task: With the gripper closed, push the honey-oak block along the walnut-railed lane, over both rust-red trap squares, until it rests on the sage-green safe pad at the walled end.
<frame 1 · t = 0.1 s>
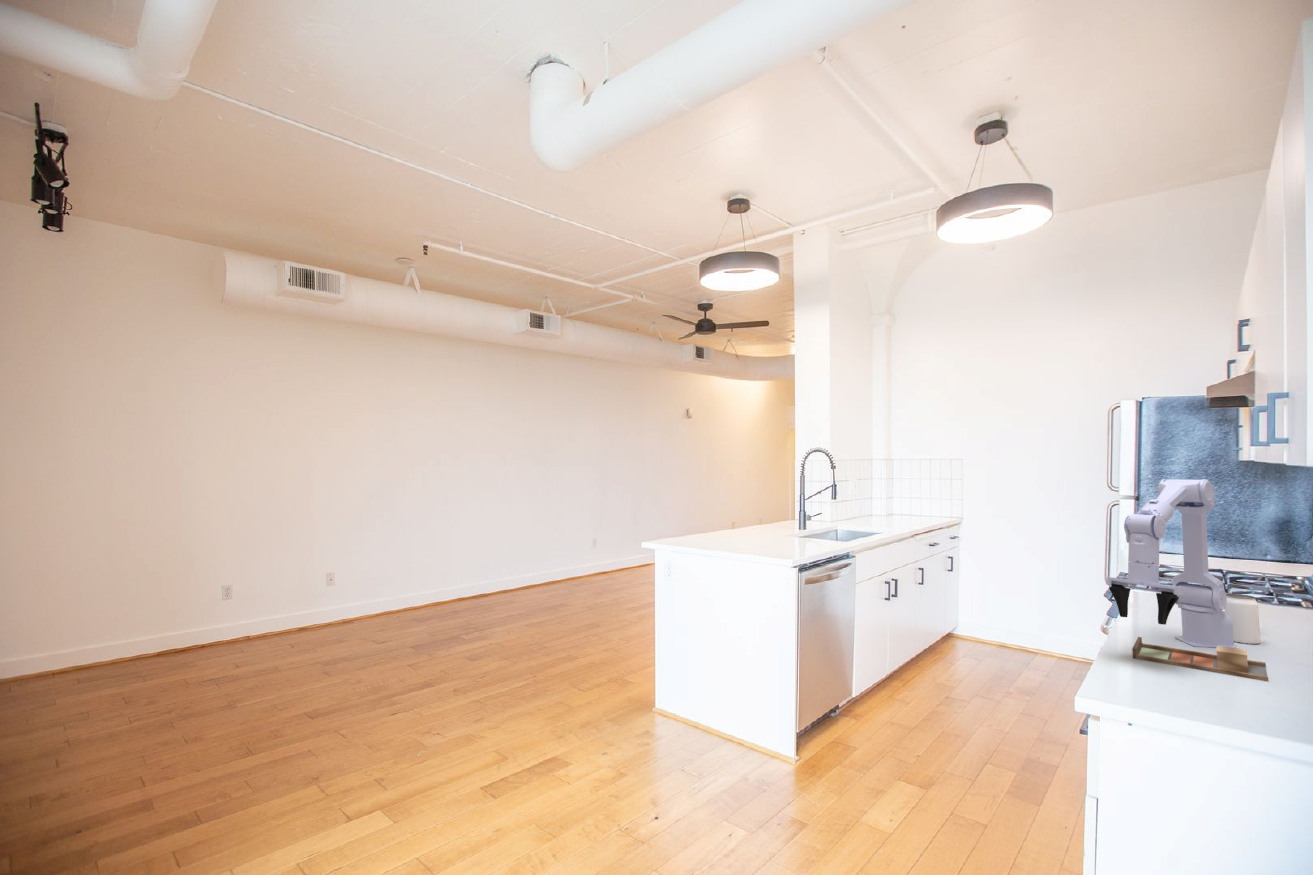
hand: (1142, 620, 138), 11 cm above the counter, tool pointing down, fingers open, 7 cm apart
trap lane: (1197, 662, 139), on the counter
block: (1232, 667, 134), resting on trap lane
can: (1243, 641, 154), on the counter
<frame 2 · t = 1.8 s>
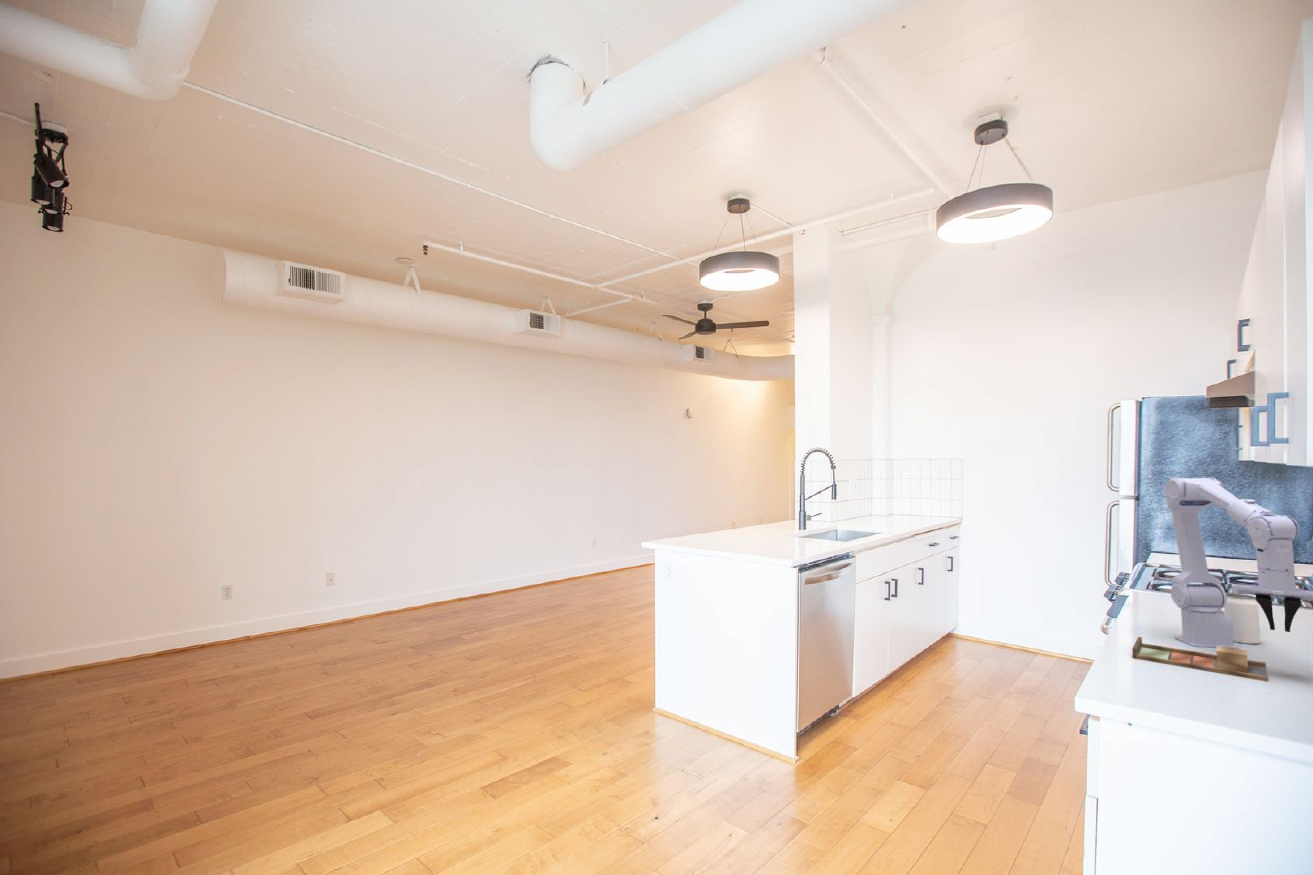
hand: (1279, 629, 129), 10 cm above the counter, tool pointing down, fingers closed
nothing on the counter moved.
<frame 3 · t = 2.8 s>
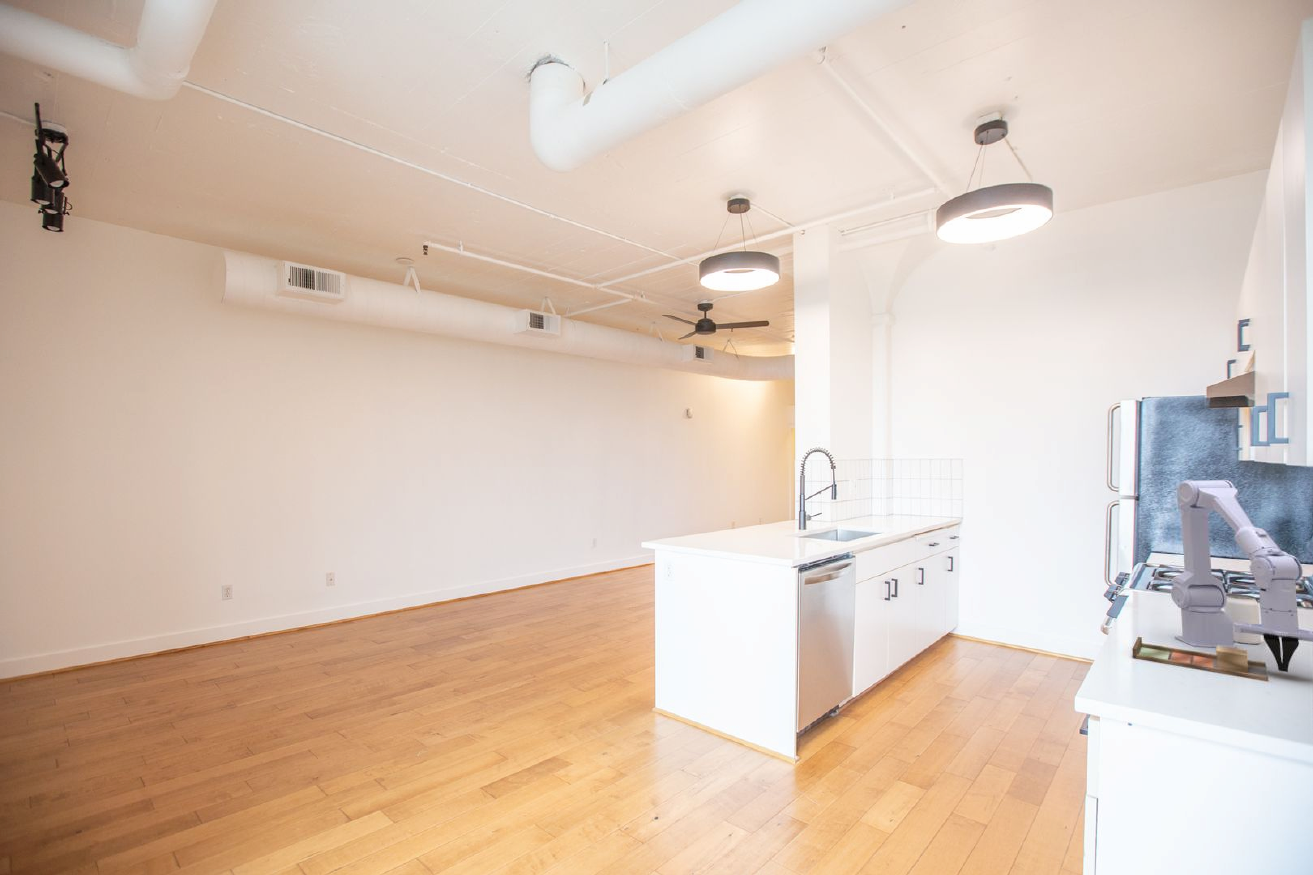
hand: (1282, 670, 129), 2 cm above the counter, tool pointing down, fingers closed
nothing on the counter moved.
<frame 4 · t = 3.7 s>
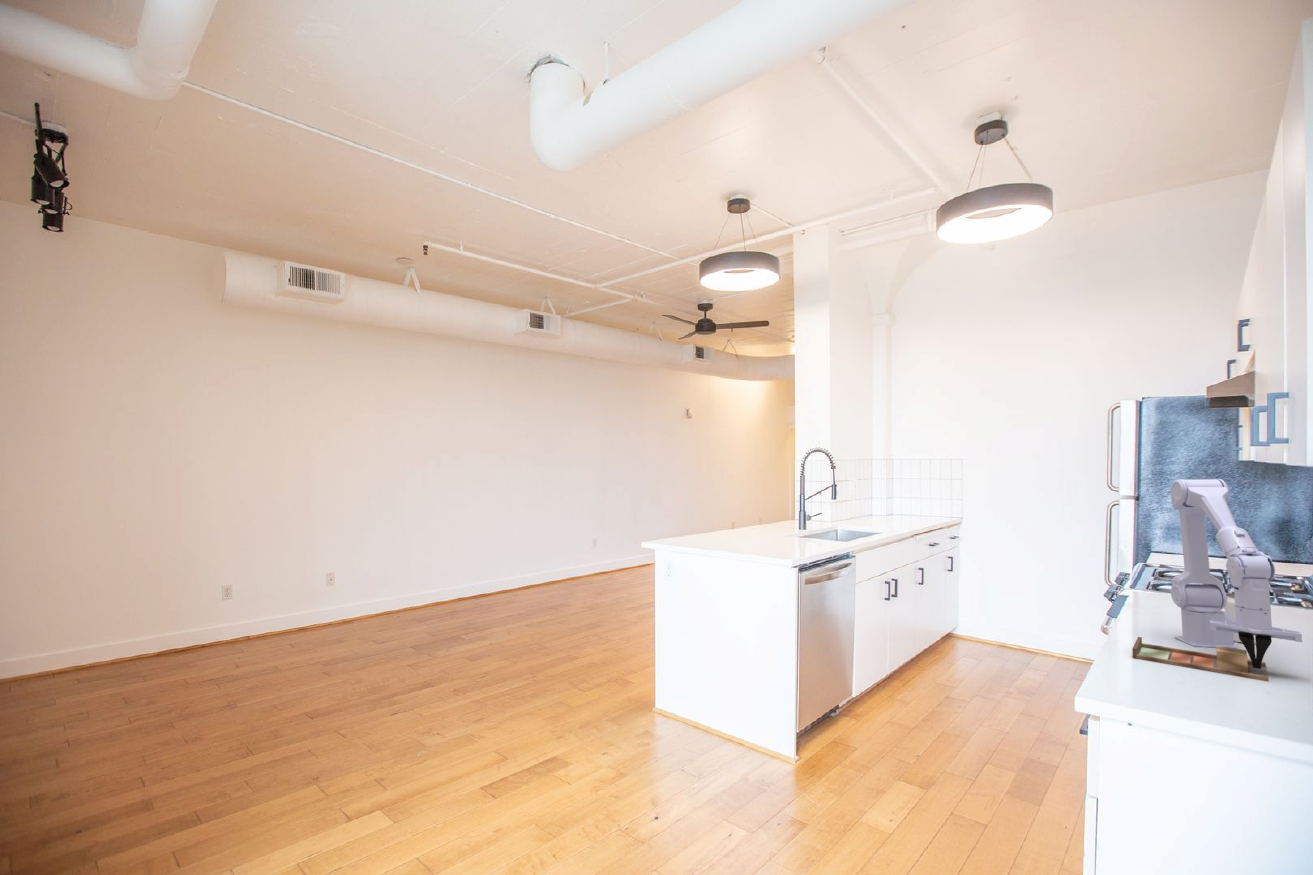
hand: (1256, 667, 132), 1 cm above the counter, tool pointing down, fingers closed
block: (1232, 667, 134), resting on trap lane, touching gripper
everything else where it was.
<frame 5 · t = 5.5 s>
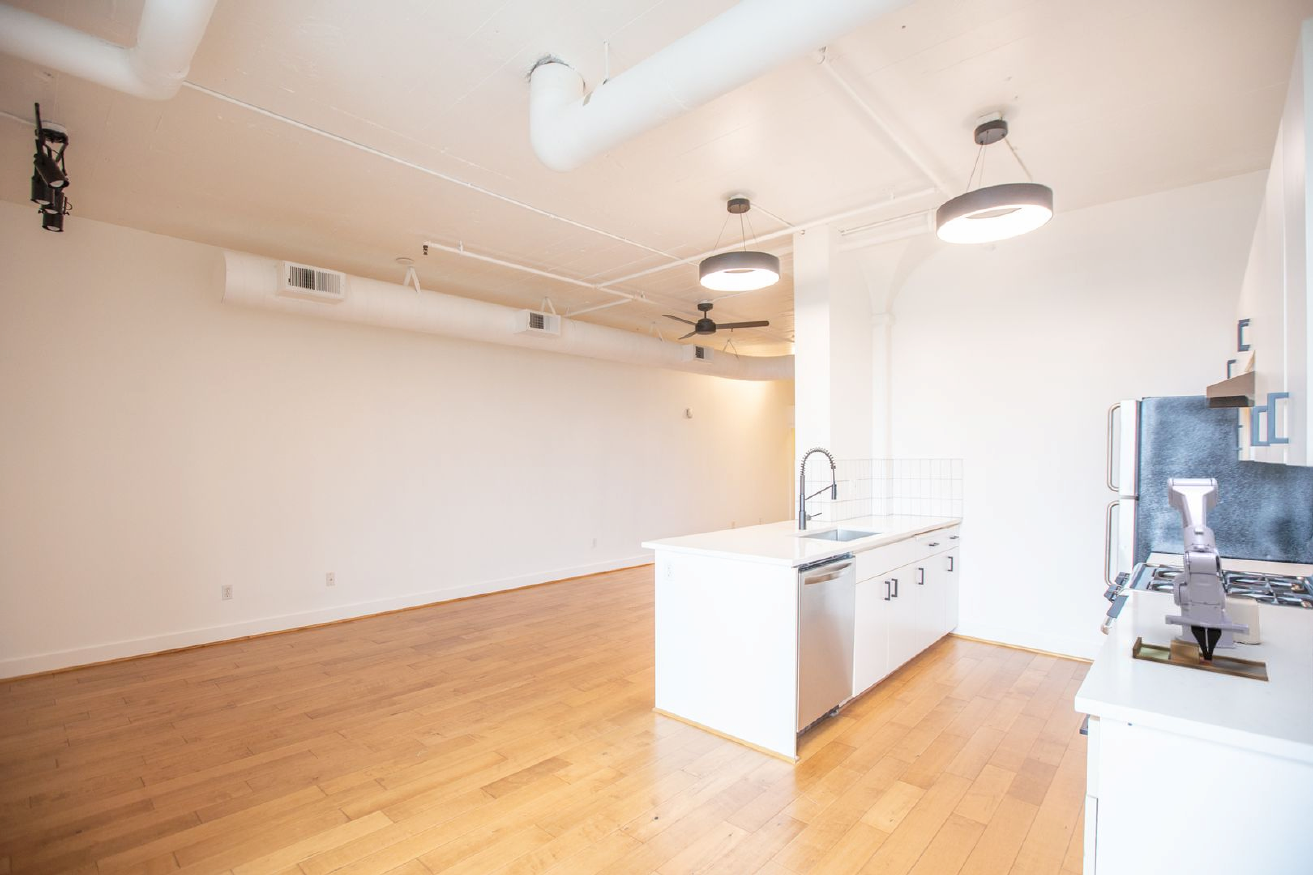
hand: (1208, 659, 137), 1 cm above the counter, tool pointing down, fingers closed
block: (1185, 659, 140), resting on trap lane, touching gripper
everything else where it was.
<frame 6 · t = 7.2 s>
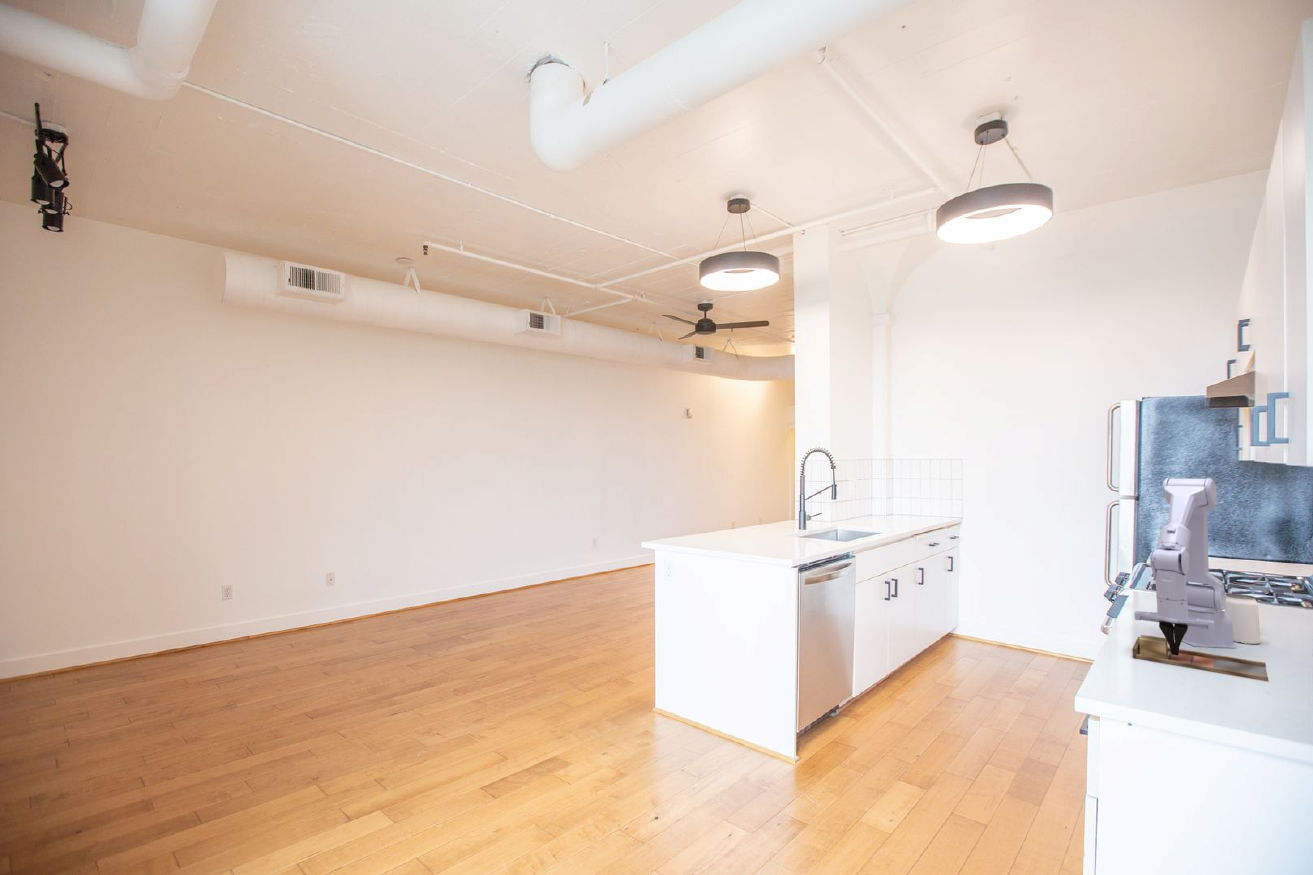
hand: (1175, 654, 141), 1 cm above the counter, tool pointing down, fingers closed
block: (1154, 654, 144), resting on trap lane, touching gripper
everything else where it was.
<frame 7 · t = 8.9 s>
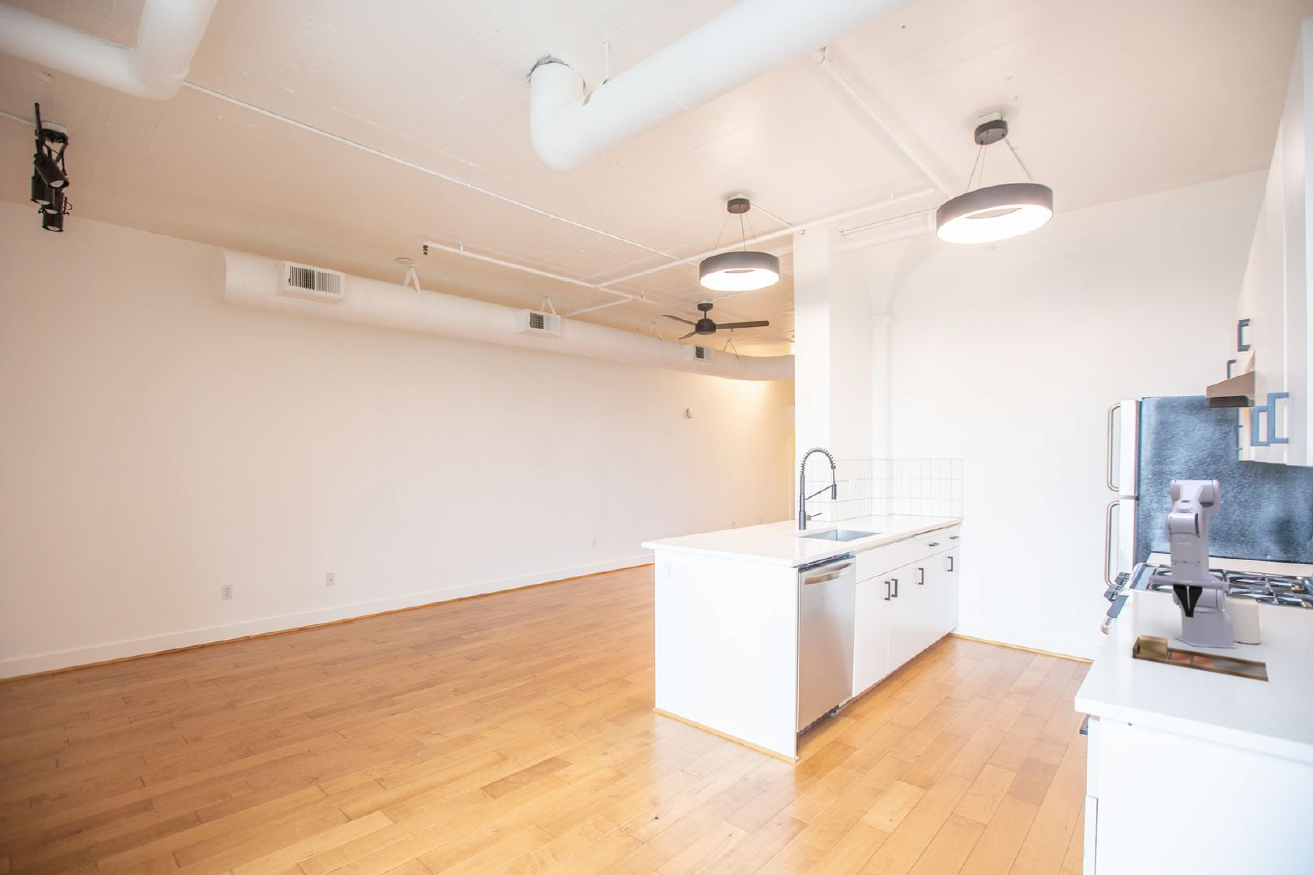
hand: (1189, 616, 142), 10 cm above the counter, tool pointing down, fingers closed
block: (1154, 654, 144), resting on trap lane
everything else where it was.
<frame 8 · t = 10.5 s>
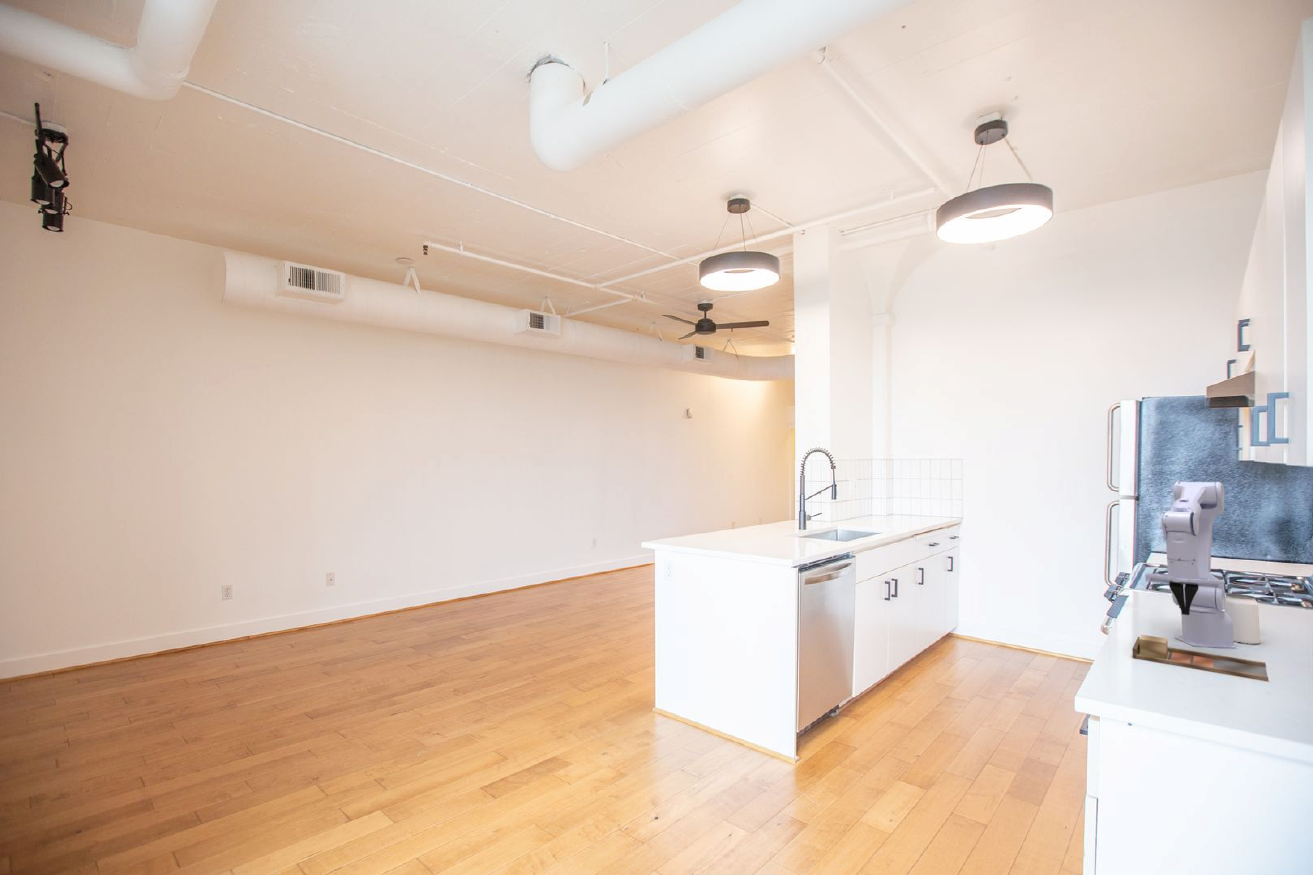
hand: (1185, 613, 144), 10 cm above the counter, tool pointing down, fingers closed
nothing on the counter moved.
at the end: block 0.3 cm from the target spot, resting on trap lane; block tilted 0°; block moved 14.0 cm from its start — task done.
